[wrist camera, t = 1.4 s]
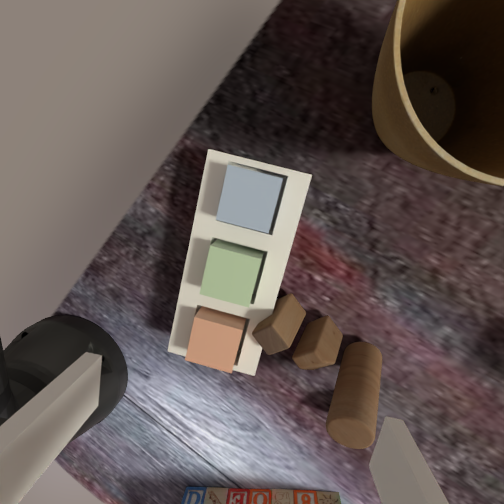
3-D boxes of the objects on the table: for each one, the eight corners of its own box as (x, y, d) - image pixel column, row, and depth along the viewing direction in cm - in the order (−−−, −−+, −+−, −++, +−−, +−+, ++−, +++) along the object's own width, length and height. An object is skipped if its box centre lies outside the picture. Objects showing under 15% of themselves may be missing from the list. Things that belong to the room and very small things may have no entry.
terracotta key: (194, 342, 34) (185, 360, 30) (203, 303, 32) (194, 316, 29) (236, 354, 33) (231, 373, 30) (246, 315, 32) (242, 330, 29)
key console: (179, 334, 36) (167, 351, 32) (217, 153, 31) (208, 148, 27) (257, 355, 36) (254, 375, 32) (308, 176, 31) (312, 175, 27)
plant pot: (529, 102, 28) (851, -8, 12) (405, 218, 31) (532, 248, 15) (420, -14, 26) (619, -303, 11) (304, 118, 30) (329, 42, 14)
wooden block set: (266, 299, 37) (226, 354, 29) (322, 271, 32) (293, 328, 24) (348, 407, 38) (332, 490, 30) (414, 396, 33) (417, 492, 25)
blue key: (223, 216, 30) (215, 219, 27) (233, 167, 29) (227, 164, 26) (269, 228, 30) (268, 233, 27) (282, 179, 29) (283, 178, 25)
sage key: (208, 282, 32) (199, 294, 28) (217, 239, 31) (210, 245, 27) (252, 294, 32) (248, 307, 28) (263, 251, 30) (261, 259, 27)
